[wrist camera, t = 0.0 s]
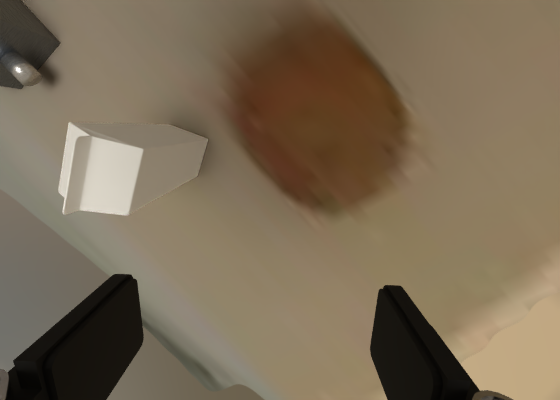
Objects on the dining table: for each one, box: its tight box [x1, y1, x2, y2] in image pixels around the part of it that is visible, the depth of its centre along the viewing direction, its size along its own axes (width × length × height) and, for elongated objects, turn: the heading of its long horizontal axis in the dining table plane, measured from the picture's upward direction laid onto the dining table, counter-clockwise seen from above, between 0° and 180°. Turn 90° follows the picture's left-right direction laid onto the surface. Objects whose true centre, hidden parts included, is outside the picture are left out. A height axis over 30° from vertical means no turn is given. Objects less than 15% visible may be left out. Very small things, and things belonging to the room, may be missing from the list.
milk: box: [58, 122, 208, 215], centre depth 29 cm, size 6×6×22 cm
